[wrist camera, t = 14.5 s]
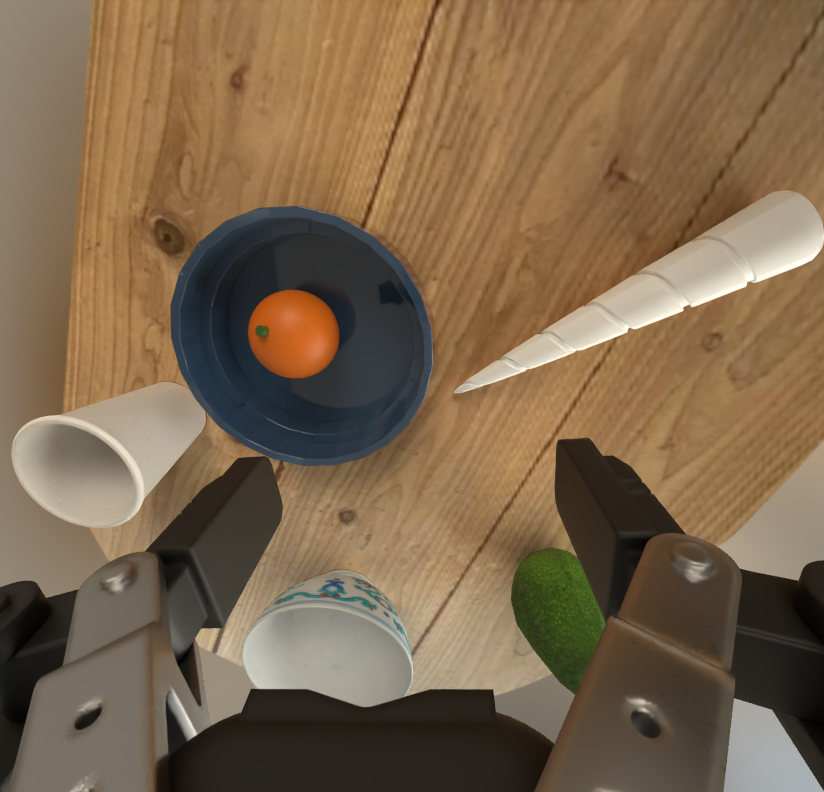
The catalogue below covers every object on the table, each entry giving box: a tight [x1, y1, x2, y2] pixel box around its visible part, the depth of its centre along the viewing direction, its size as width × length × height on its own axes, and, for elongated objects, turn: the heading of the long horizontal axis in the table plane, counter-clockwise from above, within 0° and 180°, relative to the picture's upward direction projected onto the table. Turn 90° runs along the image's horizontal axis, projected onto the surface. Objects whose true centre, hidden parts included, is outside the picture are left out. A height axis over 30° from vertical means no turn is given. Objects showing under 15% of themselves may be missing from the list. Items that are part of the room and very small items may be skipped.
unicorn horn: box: [454, 191, 824, 393], centre depth 26 cm, size 5×24×5 cm, turn 118°
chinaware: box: [241, 570, 413, 707], centre depth 37 cm, size 15×15×8 cm
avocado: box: [511, 548, 606, 695], centre depth 32 cm, size 8×8×12 cm
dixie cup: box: [12, 382, 206, 528], centre depth 29 cm, size 8×8×10 cm
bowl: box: [171, 206, 434, 466], centre depth 28 cm, size 17×17×6 cm
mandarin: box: [248, 290, 340, 378], centre depth 27 cm, size 6×6×6 cm
